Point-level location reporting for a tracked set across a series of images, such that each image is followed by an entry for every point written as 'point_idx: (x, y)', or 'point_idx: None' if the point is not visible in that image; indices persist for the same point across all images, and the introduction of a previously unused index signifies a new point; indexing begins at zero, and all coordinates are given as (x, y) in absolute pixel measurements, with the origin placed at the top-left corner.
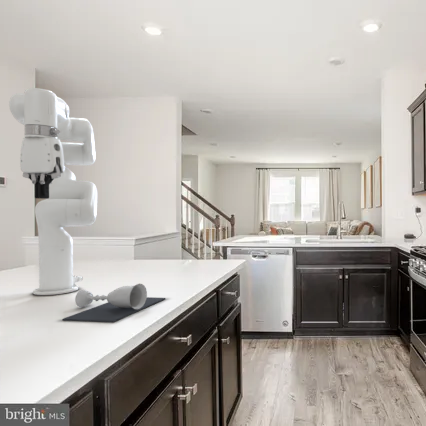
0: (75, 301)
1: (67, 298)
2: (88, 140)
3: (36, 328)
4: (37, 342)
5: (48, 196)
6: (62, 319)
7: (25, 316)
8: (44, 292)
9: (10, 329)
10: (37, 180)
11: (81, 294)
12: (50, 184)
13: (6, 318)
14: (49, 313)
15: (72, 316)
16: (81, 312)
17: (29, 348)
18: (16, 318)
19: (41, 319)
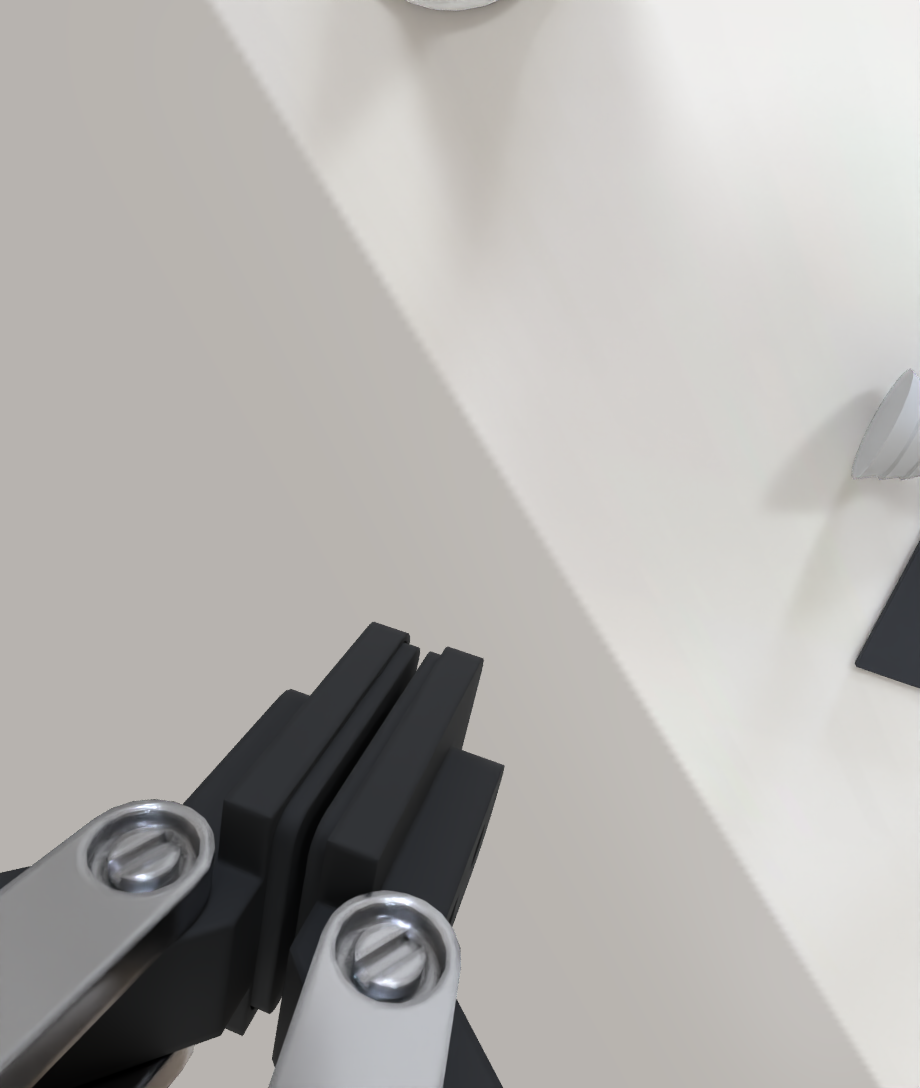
0: (852, 475)
1: (663, 122)
2: None
3: (785, 750)
4: (873, 915)
5: (469, 682)
6: (856, 666)
7: (630, 546)
8: (450, 6)
9: (680, 734)
10: (138, 1050)
11: (894, 474)
12: (441, 915)
13: (560, 562)
14: (726, 513)
15: (894, 637)
16: (918, 570)
17: (873, 962)
18: (607, 572)
19: (739, 618)
